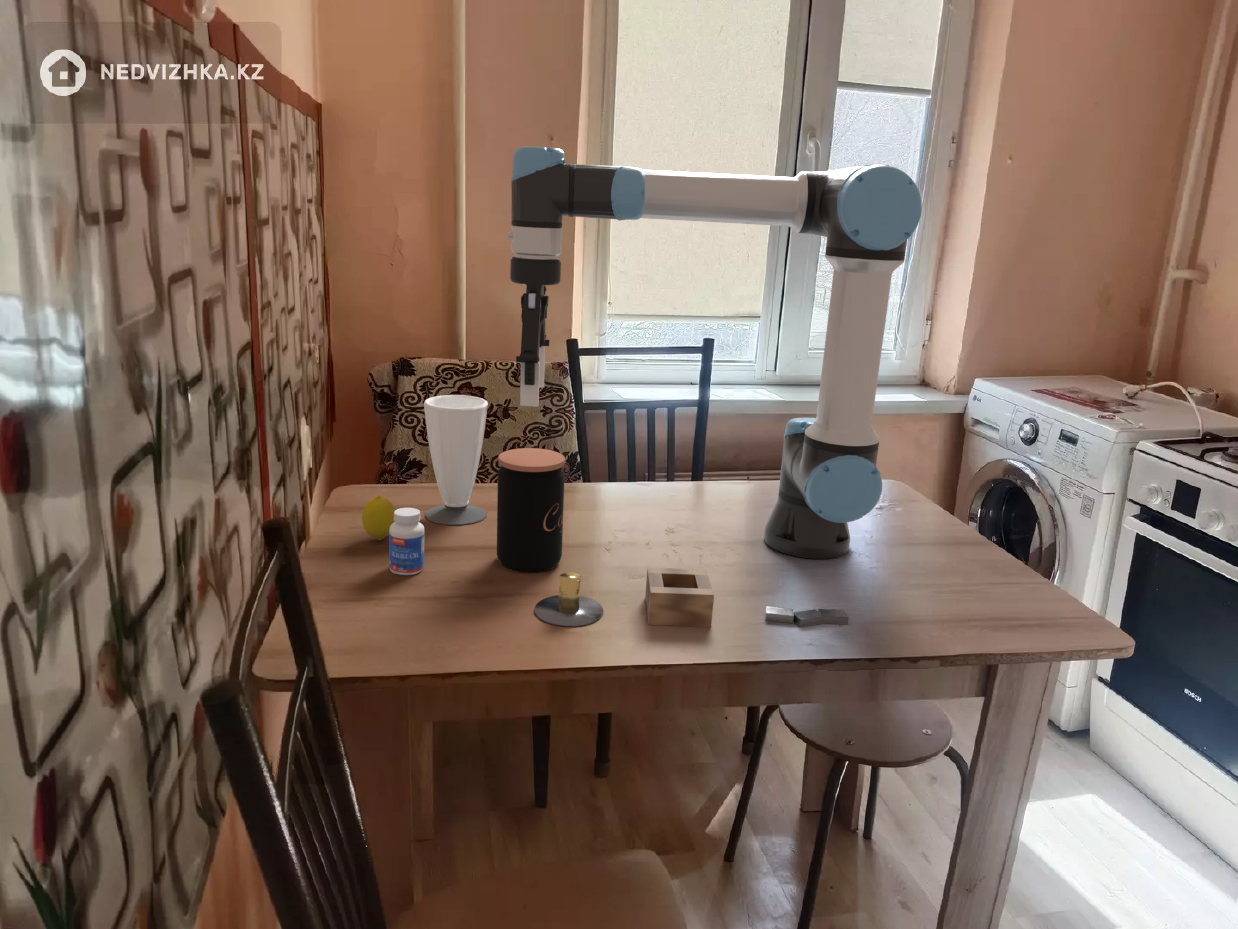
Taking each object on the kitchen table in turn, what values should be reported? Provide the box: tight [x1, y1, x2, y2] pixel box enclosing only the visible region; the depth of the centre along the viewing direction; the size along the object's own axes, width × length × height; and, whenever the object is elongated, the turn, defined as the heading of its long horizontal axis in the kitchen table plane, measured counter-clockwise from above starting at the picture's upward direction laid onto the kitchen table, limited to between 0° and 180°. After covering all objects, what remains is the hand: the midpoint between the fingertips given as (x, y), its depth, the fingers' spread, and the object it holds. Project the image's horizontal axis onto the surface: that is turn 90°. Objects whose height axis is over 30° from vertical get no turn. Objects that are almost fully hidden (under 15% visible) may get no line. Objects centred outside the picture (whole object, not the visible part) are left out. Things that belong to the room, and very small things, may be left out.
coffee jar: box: [496, 447, 566, 574], centre depth 148 cm, size 11×11×18 cm
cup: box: [423, 394, 489, 526], centre depth 167 cm, size 12×12×22 cm
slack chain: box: [764, 605, 850, 628], centre depth 134 cm, size 12×4×1 cm, turn 92°
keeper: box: [534, 571, 604, 628], centre depth 133 cm, size 10×10×6 cm
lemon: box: [361, 495, 395, 541], centre depth 155 cm, size 6×6×8 cm
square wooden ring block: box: [644, 567, 715, 628], centre depth 135 cm, size 9×9×5 cm
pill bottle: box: [388, 507, 425, 576], centre depth 144 cm, size 6×5×10 cm
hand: (532, 396), depth 142 cm, fingers open, 13 cm apart
